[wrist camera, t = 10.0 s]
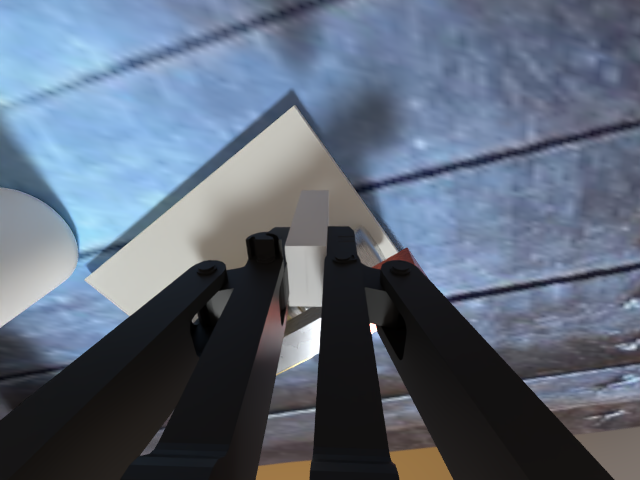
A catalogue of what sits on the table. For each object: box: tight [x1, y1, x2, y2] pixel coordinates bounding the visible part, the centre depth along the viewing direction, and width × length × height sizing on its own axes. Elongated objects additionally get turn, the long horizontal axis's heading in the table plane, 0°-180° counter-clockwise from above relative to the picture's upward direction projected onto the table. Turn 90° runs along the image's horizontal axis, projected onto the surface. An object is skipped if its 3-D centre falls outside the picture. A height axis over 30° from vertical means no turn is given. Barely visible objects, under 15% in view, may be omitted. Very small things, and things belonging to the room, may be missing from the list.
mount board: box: [85, 105, 399, 323], centre depth 29 cm, size 26×17×1 cm, turn 126°
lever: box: [276, 248, 428, 374], centre depth 21 cm, size 16×4×2 cm, turn 126°
